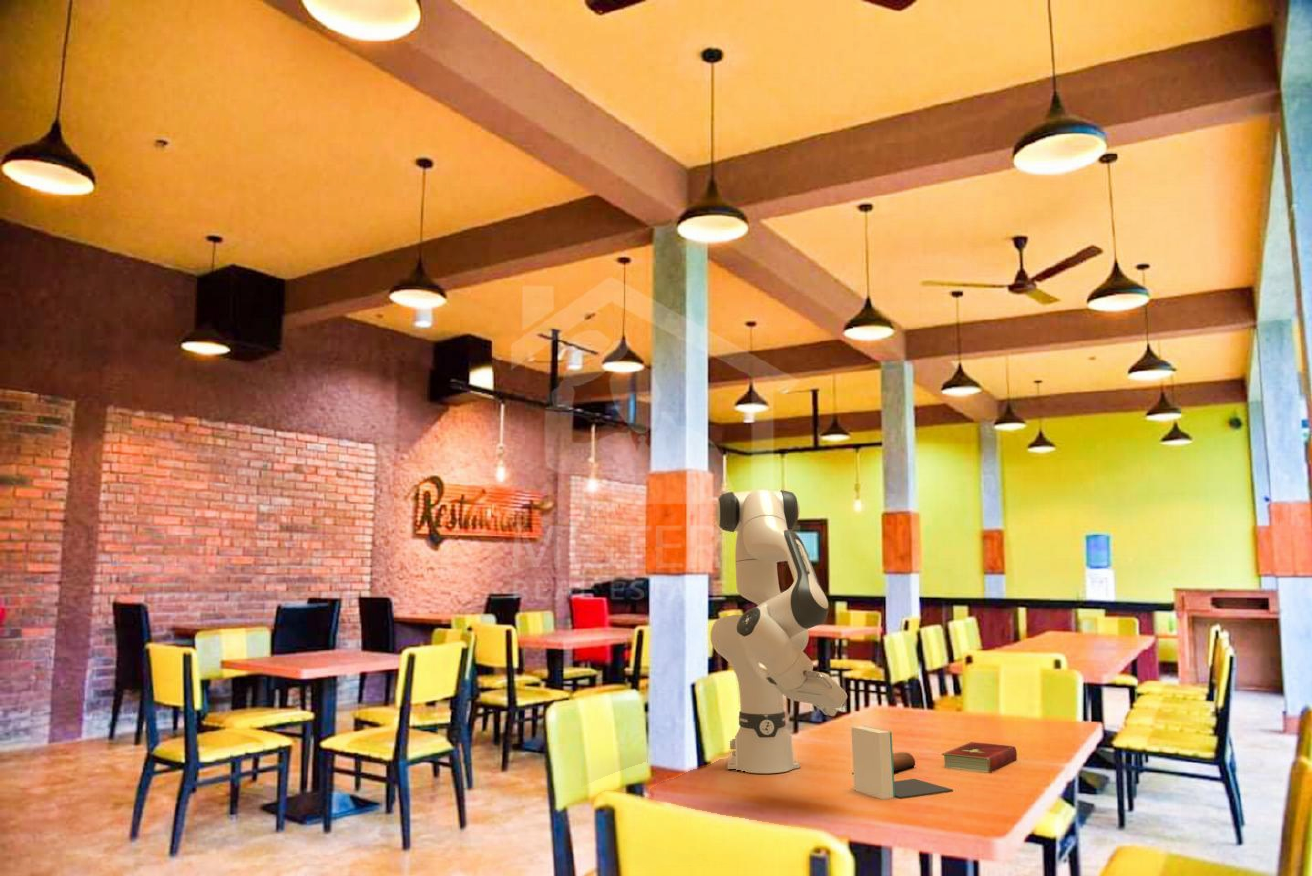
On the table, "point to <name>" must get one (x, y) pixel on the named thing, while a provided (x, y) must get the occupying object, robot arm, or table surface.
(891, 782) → the cream rectangular block
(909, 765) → the sweet potato
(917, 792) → the mat
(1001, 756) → the hardcover book
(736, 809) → the table surface
